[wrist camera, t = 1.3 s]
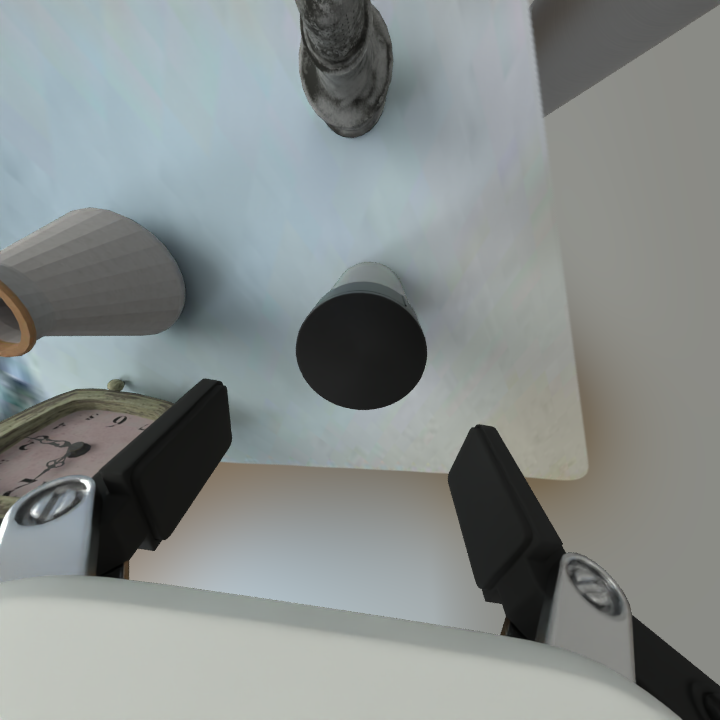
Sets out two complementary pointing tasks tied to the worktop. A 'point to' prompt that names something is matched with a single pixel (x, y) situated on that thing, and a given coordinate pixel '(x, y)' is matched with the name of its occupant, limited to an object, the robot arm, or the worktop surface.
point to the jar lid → (362, 346)
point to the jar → (371, 276)
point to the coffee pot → (87, 281)
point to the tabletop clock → (70, 436)
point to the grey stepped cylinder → (345, 62)
